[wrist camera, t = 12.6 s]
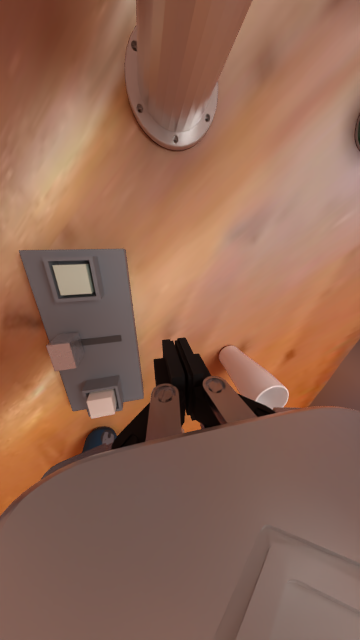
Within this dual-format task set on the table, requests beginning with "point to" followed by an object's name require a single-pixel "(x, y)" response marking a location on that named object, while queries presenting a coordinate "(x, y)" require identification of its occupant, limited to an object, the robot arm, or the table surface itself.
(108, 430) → the soda can
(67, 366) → the block
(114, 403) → the button cream
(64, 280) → the button sage
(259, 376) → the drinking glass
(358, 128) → the canned tomato
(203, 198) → the table surface
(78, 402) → the panel
